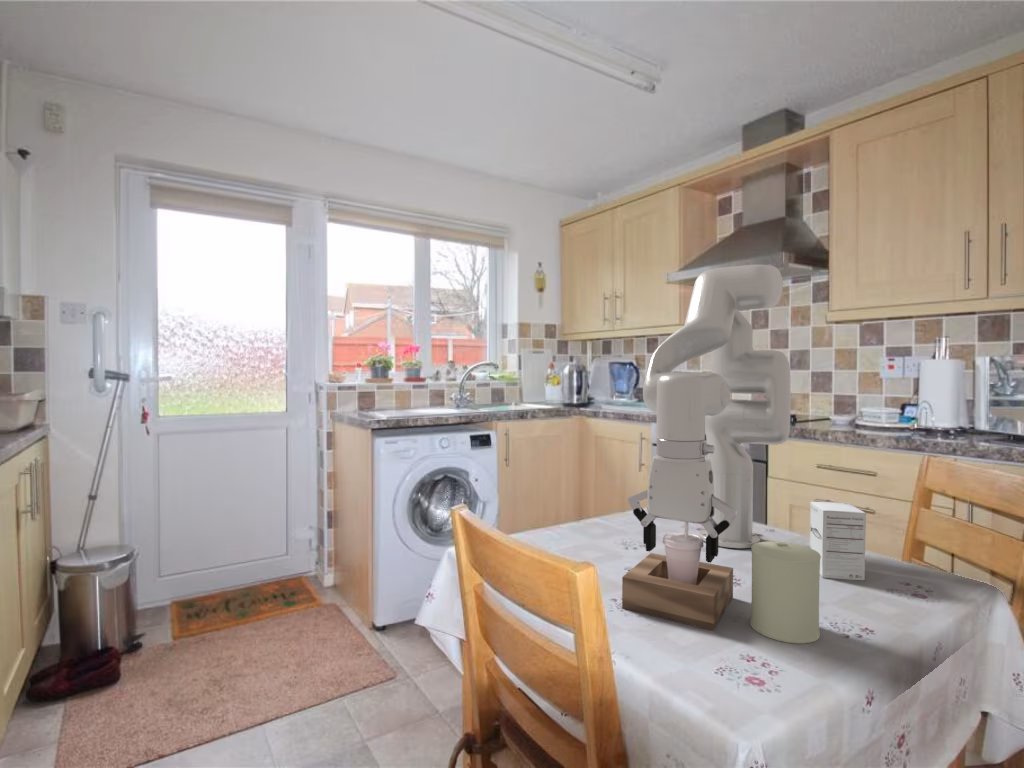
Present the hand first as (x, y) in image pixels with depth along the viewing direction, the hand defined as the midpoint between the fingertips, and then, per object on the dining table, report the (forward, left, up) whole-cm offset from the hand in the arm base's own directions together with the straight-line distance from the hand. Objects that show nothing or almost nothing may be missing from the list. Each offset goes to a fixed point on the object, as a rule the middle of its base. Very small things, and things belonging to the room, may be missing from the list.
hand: (679, 554), depth 90 cm
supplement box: (-30, +21, -8) cm, 37 cm away
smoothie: (0, +1, -7) cm, 7 cm away
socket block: (0, 0, -8) cm, 8 cm away
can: (+1, +16, -8) cm, 18 cm away
